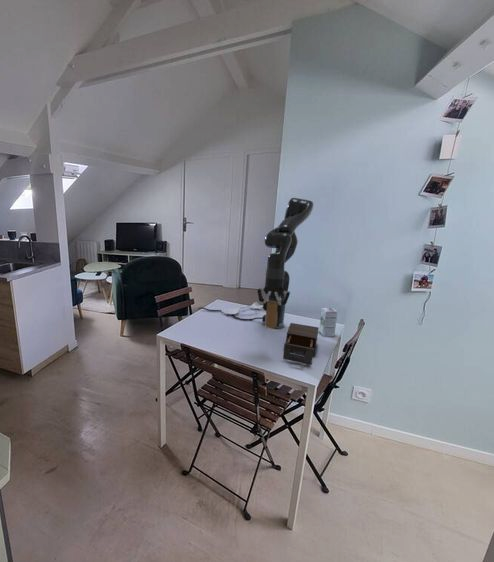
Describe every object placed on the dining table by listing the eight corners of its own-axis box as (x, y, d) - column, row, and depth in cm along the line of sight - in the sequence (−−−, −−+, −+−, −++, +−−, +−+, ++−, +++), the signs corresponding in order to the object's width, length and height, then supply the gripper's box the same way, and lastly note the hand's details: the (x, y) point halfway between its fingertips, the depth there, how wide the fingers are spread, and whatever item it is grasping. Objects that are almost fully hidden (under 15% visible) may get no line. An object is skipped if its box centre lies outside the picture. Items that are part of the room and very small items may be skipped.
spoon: (266, 309, 211) (266, 304, 210) (227, 317, 201) (227, 312, 200) (256, 305, 219) (256, 301, 219) (218, 313, 209) (218, 308, 208)
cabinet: (314, 356, 149) (316, 338, 146) (284, 350, 156) (286, 332, 153) (316, 344, 160) (318, 327, 158) (288, 339, 167) (290, 322, 165)
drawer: (310, 369, 137) (312, 353, 135) (281, 362, 143) (283, 347, 141) (313, 352, 151) (315, 337, 149) (287, 347, 157) (288, 333, 155)
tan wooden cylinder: (263, 326, 148) (265, 303, 145) (265, 323, 152) (267, 299, 149) (275, 328, 145) (277, 304, 142) (277, 325, 149) (279, 301, 146)
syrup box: (334, 336, 168) (338, 311, 165) (322, 336, 170) (326, 311, 166) (330, 332, 174) (333, 307, 170) (318, 331, 175) (321, 307, 171)
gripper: (293, 276, 141) (290, 311, 146) (259, 273, 149) (257, 306, 154) (291, 279, 136) (287, 316, 140) (256, 276, 144) (253, 311, 148)
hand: (271, 311), depth 147 cm, fingers closed on tan wooden cylinder, 5 cm apart
